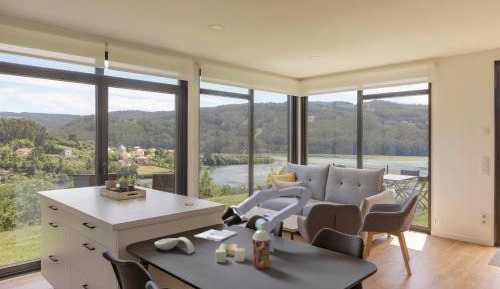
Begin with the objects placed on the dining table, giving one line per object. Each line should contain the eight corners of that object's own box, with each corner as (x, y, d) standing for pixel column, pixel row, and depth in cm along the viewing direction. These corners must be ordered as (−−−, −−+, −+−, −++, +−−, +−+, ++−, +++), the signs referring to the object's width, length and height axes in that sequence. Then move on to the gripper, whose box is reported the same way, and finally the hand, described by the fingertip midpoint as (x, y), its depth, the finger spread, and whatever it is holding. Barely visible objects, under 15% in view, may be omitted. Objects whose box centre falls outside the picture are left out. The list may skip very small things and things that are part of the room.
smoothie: (264, 272, 152) (264, 227, 151) (248, 268, 156) (248, 224, 156) (273, 266, 159) (273, 223, 158) (258, 262, 163) (258, 220, 163)
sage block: (224, 258, 169) (224, 248, 168) (225, 262, 164) (225, 251, 164) (215, 259, 168) (215, 249, 168) (216, 262, 163) (216, 252, 163)
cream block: (244, 258, 169) (244, 248, 169) (243, 261, 165) (243, 251, 165) (235, 258, 170) (235, 248, 170) (234, 261, 165) (234, 251, 165)
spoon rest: (150, 249, 183) (149, 236, 183) (165, 243, 194) (165, 231, 194) (185, 256, 172) (184, 242, 172) (199, 250, 183) (199, 236, 182)
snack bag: (220, 242, 196) (220, 239, 196) (192, 237, 207) (192, 234, 207) (238, 234, 212) (238, 231, 212) (212, 230, 223) (212, 227, 223)
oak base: (237, 249, 182) (237, 244, 182) (235, 255, 173) (235, 249, 173) (221, 249, 183) (221, 243, 183) (218, 255, 174) (218, 249, 174)
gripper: (237, 195, 184) (216, 211, 180) (248, 206, 171) (226, 222, 168) (243, 205, 187) (222, 220, 183) (254, 216, 174) (232, 232, 171)
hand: (224, 222), depth 176 cm, fingers open, 7 cm apart
